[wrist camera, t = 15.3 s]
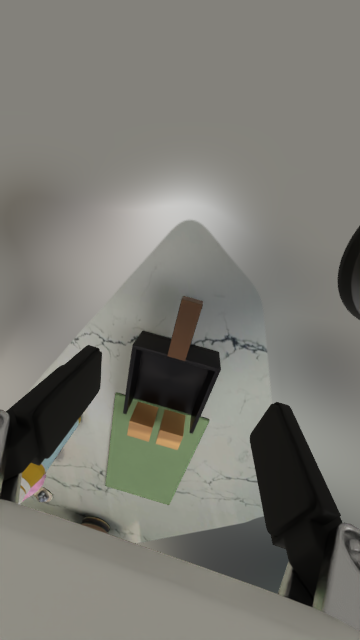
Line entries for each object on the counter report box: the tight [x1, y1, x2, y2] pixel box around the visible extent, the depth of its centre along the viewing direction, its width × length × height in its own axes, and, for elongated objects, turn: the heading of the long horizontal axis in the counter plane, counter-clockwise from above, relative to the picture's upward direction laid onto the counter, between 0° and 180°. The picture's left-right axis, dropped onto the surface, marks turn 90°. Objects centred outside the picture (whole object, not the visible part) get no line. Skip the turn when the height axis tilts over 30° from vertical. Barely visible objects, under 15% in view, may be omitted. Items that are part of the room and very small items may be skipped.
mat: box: [105, 393, 209, 505], centre depth 41 cm, size 36×18×1 cm, turn 166°
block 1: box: [127, 402, 158, 442], centre depth 32 cm, size 4×4×4 cm
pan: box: [123, 296, 221, 434], centre depth 26 cm, size 22×12×4 cm, turn 166°
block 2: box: [156, 409, 186, 450], centre depth 32 cm, size 4×4×4 cm
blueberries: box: [33, 487, 53, 503], centre depth 56 cm, size 7×8×2 cm
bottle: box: [18, 416, 81, 504], centre depth 31 cm, size 7×7×15 cm
